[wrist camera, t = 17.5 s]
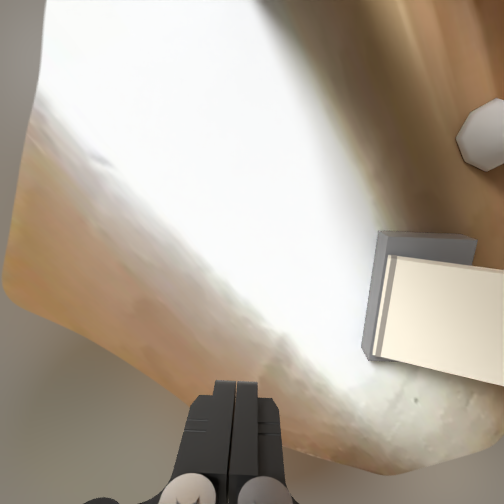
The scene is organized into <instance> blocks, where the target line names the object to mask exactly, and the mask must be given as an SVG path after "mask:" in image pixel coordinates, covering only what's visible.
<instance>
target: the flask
mask: <svg viewBox="0 0 504 504" xmlns="http://www.w3.org/2000/svg"><path fill="white" fill-rule="evenodd" d="M456 141H457V143H458V146H459V148H460V151H461V154H462V156H463V159H464V161H465V162H467V163H469V164H471V165H473V166H475V167H477V168H479V169H481V170H483V171H485V172H487V171H489V170H491V169H493V168H495V167H497V166H499V165H502V164H504V100H501V99H498V98H496V99H494V100H492V101H490V102H488V103H486V104H485V105H483V106H481V107H479V108H477V109H476V110H474V111H472V112H470V114H469V116H468V117H467V119H466V121H465V123H464V124H463V126H462V128H461V129H460V131H459V133H458V135H457V136H456Z"/></svg>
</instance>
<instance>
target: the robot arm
mask: <svg viewBox="0 0 504 504" xmlns="http://www.w3.org/2000/svg"><path fill="white" fill-rule="evenodd" d="M235 398H236V403H235ZM228 499H229V503H228ZM84 504H119V503H118V502H117V501H115V500H114V499H111V498H105V497H104V498H96V499H93V500H90V501H88V502H86V503H84ZM139 504H299V503H297V502H296V501H295V500H294V498H293V497H292V496H291V494H290V493H289V491H288V489H287V486H286V483H285V475H284V464H283V452H282V440H281V429H280V417H279V409H278V407H277V406H276V404H275V402H274V401H273V399H272V398H258V386H257V382H245V381H237V392H236V381H224V380H216V381H215V386H214V391H213V396H212V395H199V396H198V397H197V399H196V400H195V401H194V402H193V403H192V405H191V406H190V410H189V414H188V417H187V421H186V425H185V429H184V432H183V436H182V440H181V444H180V447H179V451H178V455H177V459H176V462H175V466H174V470H173V473H172V476H171V479H170V481H169V482H168V484H167V485H166V487H165V488H164V489H163V490H162V491H161V492H160V493H159V494H158V495H156V496H155V497H153V498H152V499H150V500H148V501H145V502H142V503H139Z"/></svg>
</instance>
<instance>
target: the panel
mask: <svg viewBox="0 0 504 504" xmlns="http://www.w3.org/2000/svg"><path fill="white" fill-rule="evenodd" d="M372 355H375V356H377V357H384V358H388V359H392V360H396V361H400V362H405V363H409V364H413V365H417V366H421V367H425V368H430V369H434V370H438V371H442V372H446V373H450V374H455V375H459V376H463V377H467V378H471V379H475V380H480V381H484V382H488V383H492V384H496V385H501V386H504V270H499V269H492V268H484V267H477V266H469V265H462V264H454V263H447V262H439V261H432V260H424V259H417V258H409V257H402V256H397V255H388V259H387V265H386V271H385V278H384V284H383V290H382V296H381V302H380V309H379V315H378V321H377V327H376V333H375V340H374V346H373V354H372Z"/></svg>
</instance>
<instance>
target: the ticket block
mask: <svg viewBox="0 0 504 504" xmlns="http://www.w3.org/2000/svg"><path fill="white" fill-rule="evenodd" d="M477 241H478V240H476V239H474V238H471V237H468V236H466V235H463V234H449V233H424V232H399V231H378V237H377V244H376V251H375V257H374V264H373V271H372V277H371V284H370V291H369V298H368V304H367V311H366V318H365V324H364V331H363V338H362V344H361V348H362V350H363V352H364V353H365V355H366V357H367V359H368V361H391V362H400V361H396V360H392V359H388V358H384V357H377V356H375V355H372V354H373V346H374V340H375V333H376V327H377V321H378V315H379V309H380V302H381V296H382V290H383V284H384V278H385V271H386V265H387V259H388V255H397V256H402V257H409V258H417V259H424V260H432V261H439V262H447V263H454V264H462V265H469V266H472V262H473V258H474V254H475V250H476V246H477Z"/></svg>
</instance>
